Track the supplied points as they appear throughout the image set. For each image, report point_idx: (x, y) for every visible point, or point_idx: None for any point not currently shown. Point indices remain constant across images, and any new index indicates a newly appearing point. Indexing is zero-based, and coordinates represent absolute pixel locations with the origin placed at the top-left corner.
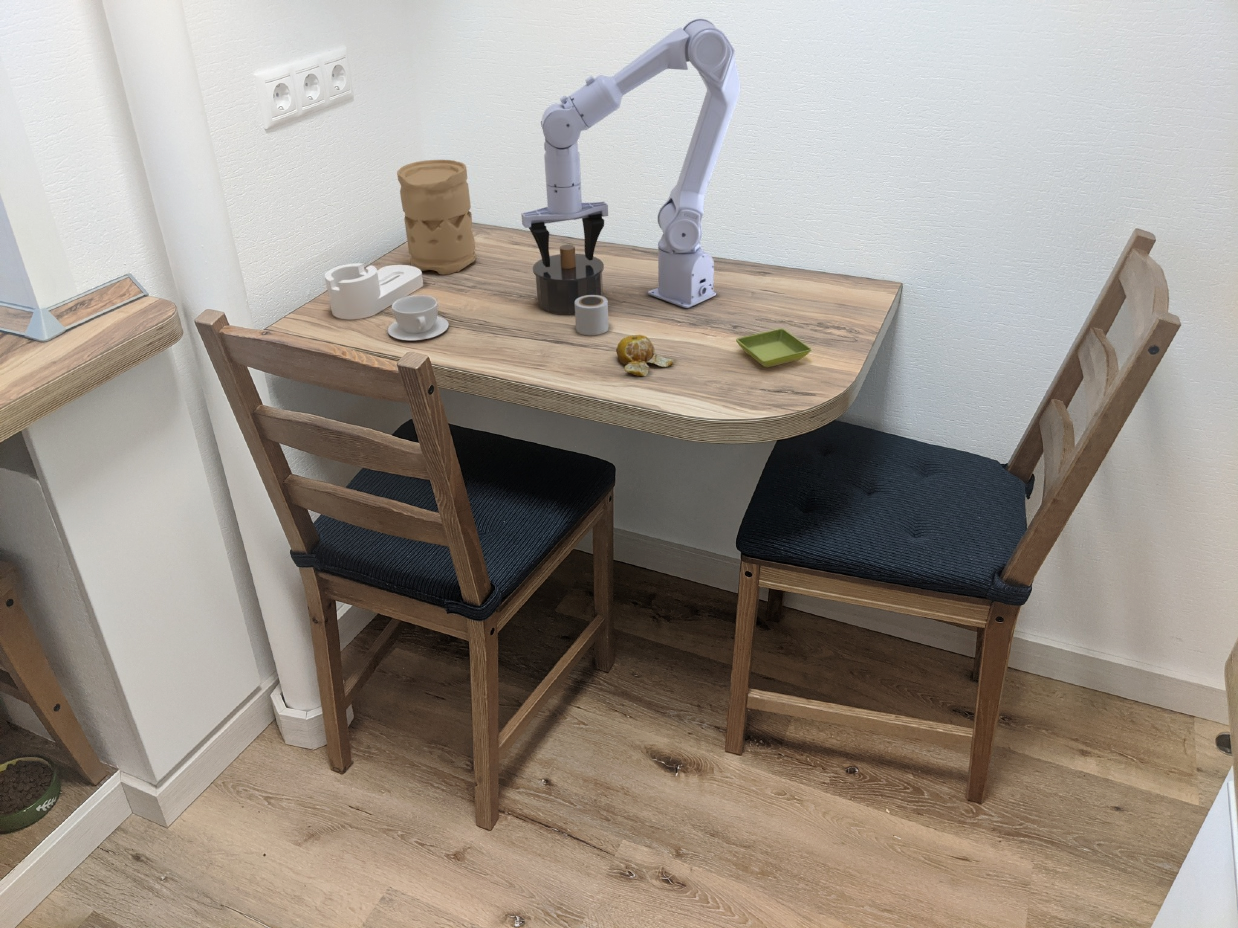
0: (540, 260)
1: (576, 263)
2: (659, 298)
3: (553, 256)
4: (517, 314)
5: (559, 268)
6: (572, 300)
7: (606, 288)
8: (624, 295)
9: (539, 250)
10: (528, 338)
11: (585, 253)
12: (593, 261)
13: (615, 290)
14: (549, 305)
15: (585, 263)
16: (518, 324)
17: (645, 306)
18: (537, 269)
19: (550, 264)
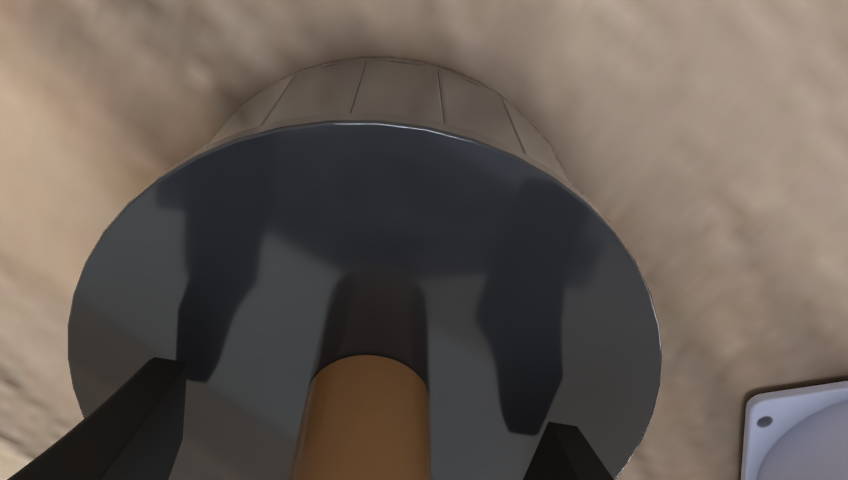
0: (206, 170)
1: (454, 393)
2: (743, 457)
3: (372, 151)
4: (39, 226)
5: (284, 404)
6: None
7: (665, 211)
8: (664, 336)
9: (71, 430)
10: (32, 455)
11: (552, 452)
12: (585, 426)
13: (680, 262)
14: None
15: (511, 425)
16: (17, 328)
17: (641, 467)
18: (106, 331)
19: (254, 302)
